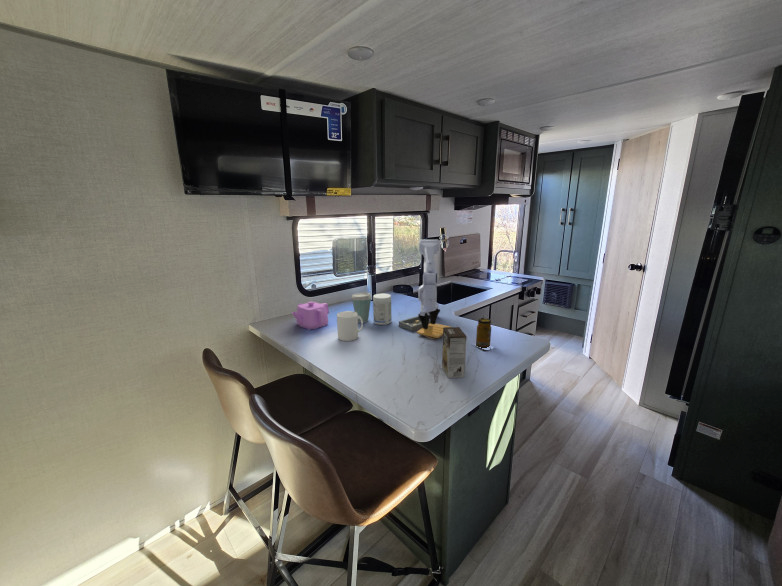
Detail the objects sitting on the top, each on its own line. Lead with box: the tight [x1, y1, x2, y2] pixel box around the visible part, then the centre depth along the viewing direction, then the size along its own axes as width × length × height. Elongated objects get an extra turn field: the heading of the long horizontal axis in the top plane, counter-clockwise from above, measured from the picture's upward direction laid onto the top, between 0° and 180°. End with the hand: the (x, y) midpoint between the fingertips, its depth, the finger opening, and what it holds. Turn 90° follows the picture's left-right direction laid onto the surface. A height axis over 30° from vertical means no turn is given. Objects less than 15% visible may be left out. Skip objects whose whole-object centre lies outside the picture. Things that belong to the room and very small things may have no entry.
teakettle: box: [291, 300, 330, 330], centre depth 172 cm, size 17×17×12 cm
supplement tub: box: [372, 293, 393, 326], centre depth 173 cm, size 10×10×15 cm
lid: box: [416, 323, 451, 339], centre depth 159 cm, size 15×11×6 cm
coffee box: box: [441, 326, 467, 379], centre depth 120 cm, size 9×6×16 cm
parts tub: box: [398, 315, 430, 333], centre depth 170 cm, size 14×10×3 cm
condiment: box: [475, 317, 492, 351], centre depth 143 cm, size 7×8×12 cm
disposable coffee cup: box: [351, 292, 372, 324], centre depth 176 cm, size 11×11×15 cm
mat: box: [420, 334, 443, 340], centre depth 160 cm, size 14×9×1 cm, turn 128°
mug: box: [336, 310, 364, 342], centre depth 154 cm, size 10×12×12 cm
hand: (429, 326), depth 154 cm, fingers open, 7 cm apart
